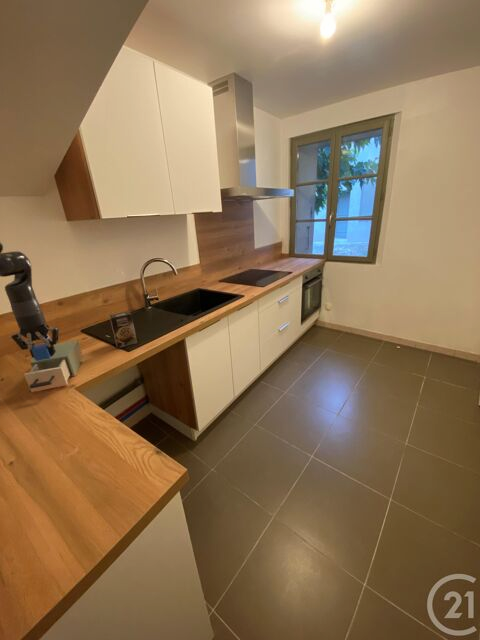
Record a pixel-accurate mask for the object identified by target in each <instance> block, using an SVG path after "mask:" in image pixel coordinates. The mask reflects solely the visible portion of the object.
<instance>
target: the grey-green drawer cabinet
mask: <svg viewBox="0 0 480 640" xmlns="http://www.w3.org/2000/svg"><path fill="white" fill-rule="evenodd" d="M54 348H55V351H56V352H55V354H54V355H53V356H51V358H50V359H45V360H39V361H36V360H35V359H34V358H32V360H31V361H30V362H29V363H30V366H31V369H32V368H33V367H34V365H35V364H36V363H42V362H48V361H53V360H59V359H65V358H67V361H68V364H69V367H70V370H71V374H70V376H69V378H72V377H76V375H77V373H78V371H79V369H80V367H81V365H82V363H83V361H82V360H83V358H84V355H83V353H82V350H81V346H80V343H79V340H74V341H67V342H62V343H56V344H55V345H54Z"/></svg>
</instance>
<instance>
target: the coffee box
mask: <svg viewBox="0 0 480 640" xmlns="http://www.w3.org/2000/svg"><path fill="white" fill-rule="evenodd" d="M108 316H109V320H110V326H111V329H112V333H113V338H114V341H115V346H116V348H117V349H120V348H121V349H122V348H124V347H129V346H131V345H135V344H138V339H137V334H136V330H135V326H134V320H133V316H132V313H131V312H130V311H129V310H127V311H123V312H117V313H112V314H108Z"/></svg>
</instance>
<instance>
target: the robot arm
mask: <svg viewBox="0 0 480 640" xmlns="http://www.w3.org/2000/svg"><path fill="white" fill-rule="evenodd" d="M3 251H4V245H3V243H2V242H1V241H0V278H1V277H2V278H6V277H10V276H14V277H13V280H12V281H11V282H8V283H7V284H6V285H5V286H4V290H5V294H6V296H7V298H8V301H9V303H10V309H11V311H12V314H13V316H14V319H15V322H16V324H17V326H18V328H19V331H18V332H15V333H14V334H12V335H11V339H12V340H13V341H14V342H15V343H16V345H17V346H18V348H20V350H22V351H24V350H27V351H29V353H30V356H31V358H32V359H35V358H34V355H33V353H32V349H33V348H34V347H35V346H36V345H35V344H36V341H41V342H42V344H46V345H47V348H48V351H49V353H50V356H53V355H54V354H55V352H56V351H55V348H54V345H55V344H58V342H59V326H55V327H51V326H49V325H48V324H47V322H46V319H45V316H44V313H43V310H42V307H41V303H40V302H39V301H38V299H37V295H36V294H35V290H34V288H33V278H32V277H33V275H32V274H33V273H32V271H33V269H32V264H31V263H32V262H31V261H30V259H29V257H28V256H27V255H26V254H25V253H23V252H22V251H18V250H17V251H15V250H14V251H8V252H7V251H6V252H3ZM48 333H50V334H51V337H50V335H49V334H48ZM23 337H24V338H26V340H25V339H24V338H23Z"/></svg>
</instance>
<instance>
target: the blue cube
mask: <svg viewBox="0 0 480 640" xmlns="http://www.w3.org/2000/svg"><path fill="white" fill-rule="evenodd" d="M32 353H33V355H34V358H35V360H36V361H39V360H45V359H50V358H51V356H50V353H49V351H48V348H47V345H46V344H45V343H41V344H36V345H35V346H34V348H33V349H32ZM34 358H33V359H34Z"/></svg>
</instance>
